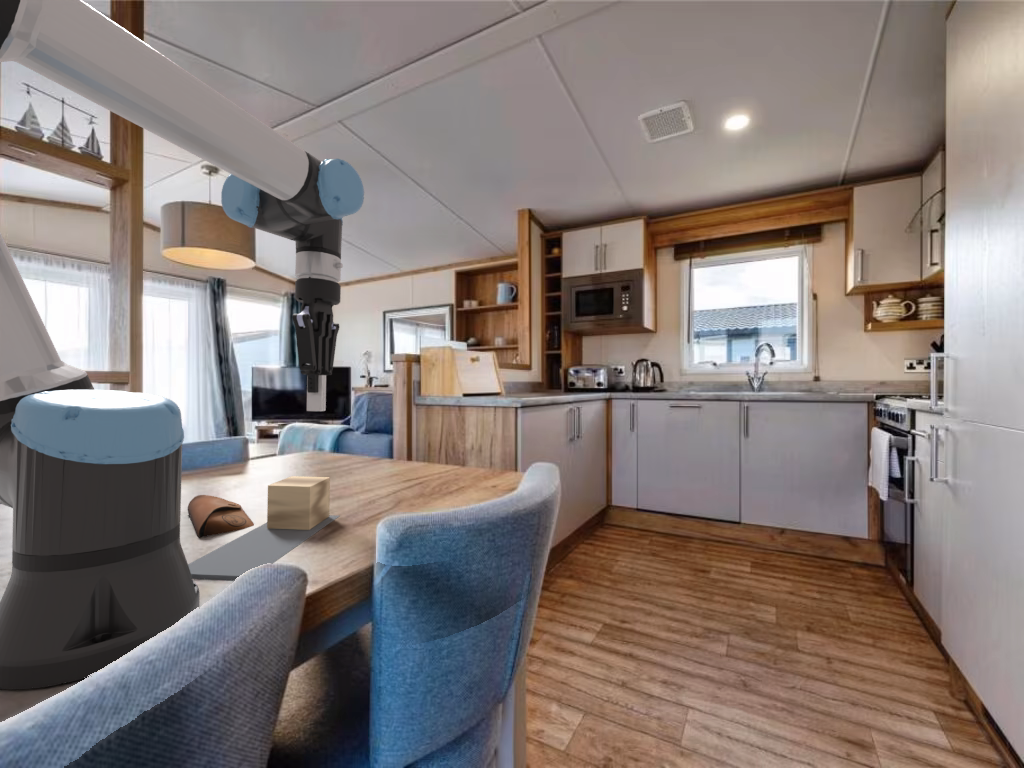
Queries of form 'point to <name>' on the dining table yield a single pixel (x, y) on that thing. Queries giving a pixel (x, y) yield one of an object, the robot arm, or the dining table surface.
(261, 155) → the robot arm
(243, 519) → the sunglasses case
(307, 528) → the maple cube
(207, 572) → the mat
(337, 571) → the dining table surface
